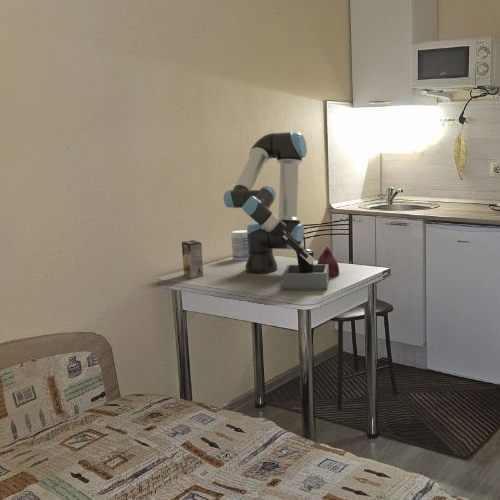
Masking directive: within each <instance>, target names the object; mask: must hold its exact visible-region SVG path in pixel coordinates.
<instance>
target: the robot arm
mask: <svg viewBox="0 0 500 500" xmlns="http://www.w3.org/2000/svg"><path fill="white" fill-rule="evenodd" d="M307 148H308V147H307V142H306V139H305V137H304V135H303V133H301V132H296V131H293V132H292V131H290V132H272V133H267V134H265V135H264V136H262V137H260V138H259V139H258V140H257V141H256V142H255V143H254V144H252V147H251V148H250V150H249V154H248V156H249V157H248V159H247V161H246V162H245V165H244V166H243V169H242V171H241V172H240V175H239V177H238V179H237V180H236V183H235V185H234V187H233V189H232V190H231V189H230V190H227V191H225V192H224V194H223V204H224V206H225V207H226V208H233V209H242V211H244V212H245V213H246V215H247V216H249V217H250V218H251V219H253V221H255V222H251V223H249V224H248V225H247V227H246V230H247V240H248V258H247V260H246V261H245V263H246V264H245V266H244V267H245V272H246V273H250V274H265V273H266V274H267V273H272V272H275V271H277V270H278V264H277V261H276V259H275V255H274V252H273V250H275V249H276V250H278V249H280V250H294V251H295V253H296V252H297V254H296V256H297V255H300V256H302V257H303V258H304V259H305V260H306V261H307V262H308V263H309V264H312V263H313V264H314V262H315V261H316V259H315V258H314V256H313V257H312V256H310V255H309V254H308V253H307V252H306V251H305V250H304V244H303V243H304V238H303V237H304V236H305V227H304V224H302V223H301V219H299V218H298V197H299V196H298V195H299V193H298V192H299V190H298V189H299V165H301V163H302V162H303V158H306V157H307V153H308V150H307ZM270 159H276V162H277V164H279V184H278V185H279V189H278V190H279V193H278V216H277V215H276V213H274V212H273V211H271V210H270V208H271V207H272V204H274V202H275V199H276V197H277V192H276V191H275V189H274V188H273V187H272V186H269V185H265V186H262V187H261V188H260V189H255V190H254V186H255V184H256V182H257V180H258V178H259V175H260V173H261V171H262V170H263V167H264V165H265V164H267V163H268V161H269V160H270Z"/></svg>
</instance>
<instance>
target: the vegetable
mask: <svg viewBox="0 0 500 500" xmlns="http://www.w3.org/2000/svg"><path fill="white" fill-rule="evenodd" d="M316 264H328V266H329V278H334V277H337V276H339V275H340V267H339V264H338V261H337V260H336V258H335V256H334V255H333V253H332V251H331V249H330V248H329V246H326V247H325V248H324V249H323V251H322V253H321V254H320V256H319V257H318V260H317V263H316Z"/></svg>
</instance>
